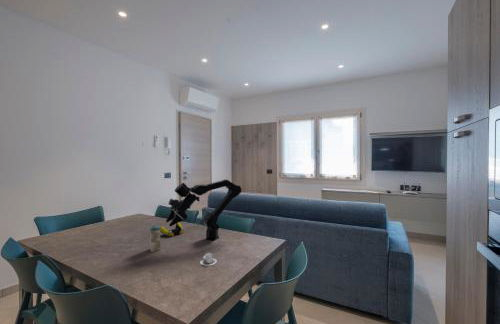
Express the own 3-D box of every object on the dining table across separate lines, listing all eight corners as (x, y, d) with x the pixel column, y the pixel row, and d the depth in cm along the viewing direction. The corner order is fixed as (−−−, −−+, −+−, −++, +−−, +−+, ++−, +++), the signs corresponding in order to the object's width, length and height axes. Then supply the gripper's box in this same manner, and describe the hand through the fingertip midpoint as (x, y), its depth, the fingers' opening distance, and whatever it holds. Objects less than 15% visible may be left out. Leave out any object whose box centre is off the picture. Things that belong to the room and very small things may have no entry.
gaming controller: (158, 235, 150) (166, 238, 144) (158, 226, 150) (166, 229, 144) (178, 229, 162) (187, 232, 155) (178, 222, 162) (187, 224, 155)
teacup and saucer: (202, 258, 115) (202, 250, 115) (218, 258, 115) (218, 250, 115) (198, 266, 107) (198, 257, 106) (215, 266, 106) (215, 258, 106)
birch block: (158, 247, 129) (158, 225, 129) (160, 250, 125) (159, 227, 125) (150, 249, 127) (149, 226, 127) (151, 251, 123) (150, 228, 123)
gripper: (173, 191, 140) (154, 211, 134) (181, 195, 124) (159, 218, 118) (186, 203, 144) (168, 223, 139) (195, 208, 128) (175, 231, 123)
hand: (167, 223), depth 129 cm, fingers open, 9 cm apart
